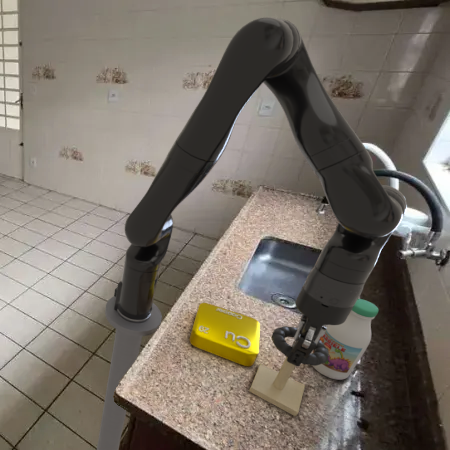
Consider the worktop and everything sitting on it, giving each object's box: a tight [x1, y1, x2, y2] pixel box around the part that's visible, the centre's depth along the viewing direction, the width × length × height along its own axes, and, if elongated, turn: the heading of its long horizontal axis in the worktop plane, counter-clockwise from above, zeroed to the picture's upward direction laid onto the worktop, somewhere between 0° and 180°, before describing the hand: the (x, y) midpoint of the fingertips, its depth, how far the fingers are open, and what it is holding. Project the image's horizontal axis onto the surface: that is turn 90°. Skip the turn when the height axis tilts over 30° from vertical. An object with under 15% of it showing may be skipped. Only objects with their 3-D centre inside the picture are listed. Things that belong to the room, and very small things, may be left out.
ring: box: [270, 325, 329, 367], centre depth 73 cm, size 10×10×2 cm
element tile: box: [189, 302, 261, 367], centre depth 93 cm, size 15×15×5 cm
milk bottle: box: [311, 298, 379, 381], centre depth 81 cm, size 8×8×20 cm
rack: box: [248, 356, 306, 417], centre depth 77 cm, size 9×9×14 cm
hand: (294, 358), depth 71 cm, fingers closed on ring, 2 cm apart
